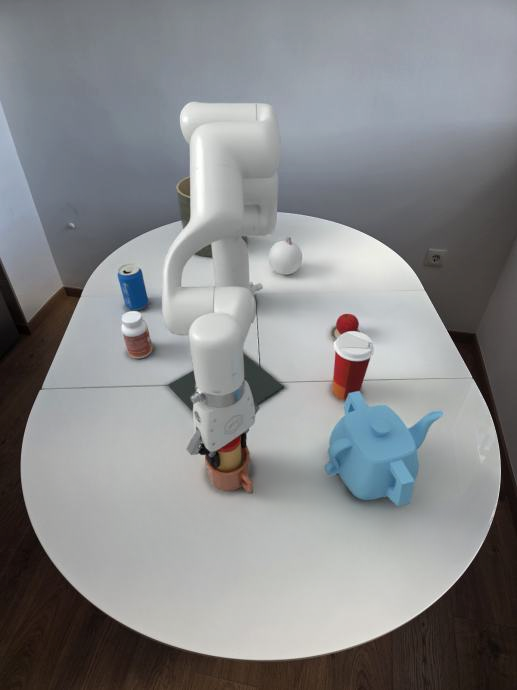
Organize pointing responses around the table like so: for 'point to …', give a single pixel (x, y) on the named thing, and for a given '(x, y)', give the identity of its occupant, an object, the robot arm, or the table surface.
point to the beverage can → (132, 286)
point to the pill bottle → (136, 335)
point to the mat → (253, 374)
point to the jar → (230, 456)
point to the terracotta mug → (232, 475)
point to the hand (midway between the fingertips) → (227, 451)
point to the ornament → (285, 257)
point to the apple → (344, 325)
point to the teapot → (376, 450)
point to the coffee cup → (350, 362)
